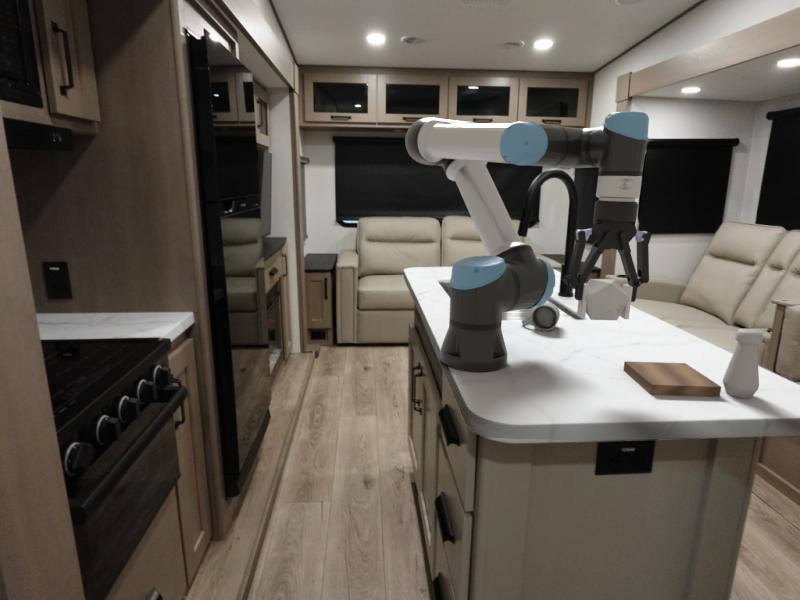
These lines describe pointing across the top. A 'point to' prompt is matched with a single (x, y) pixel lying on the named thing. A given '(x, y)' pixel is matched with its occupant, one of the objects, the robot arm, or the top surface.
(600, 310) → the die
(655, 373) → the walnut board
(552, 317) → the ceramic mug
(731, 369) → the salt shaker
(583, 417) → the top surface
